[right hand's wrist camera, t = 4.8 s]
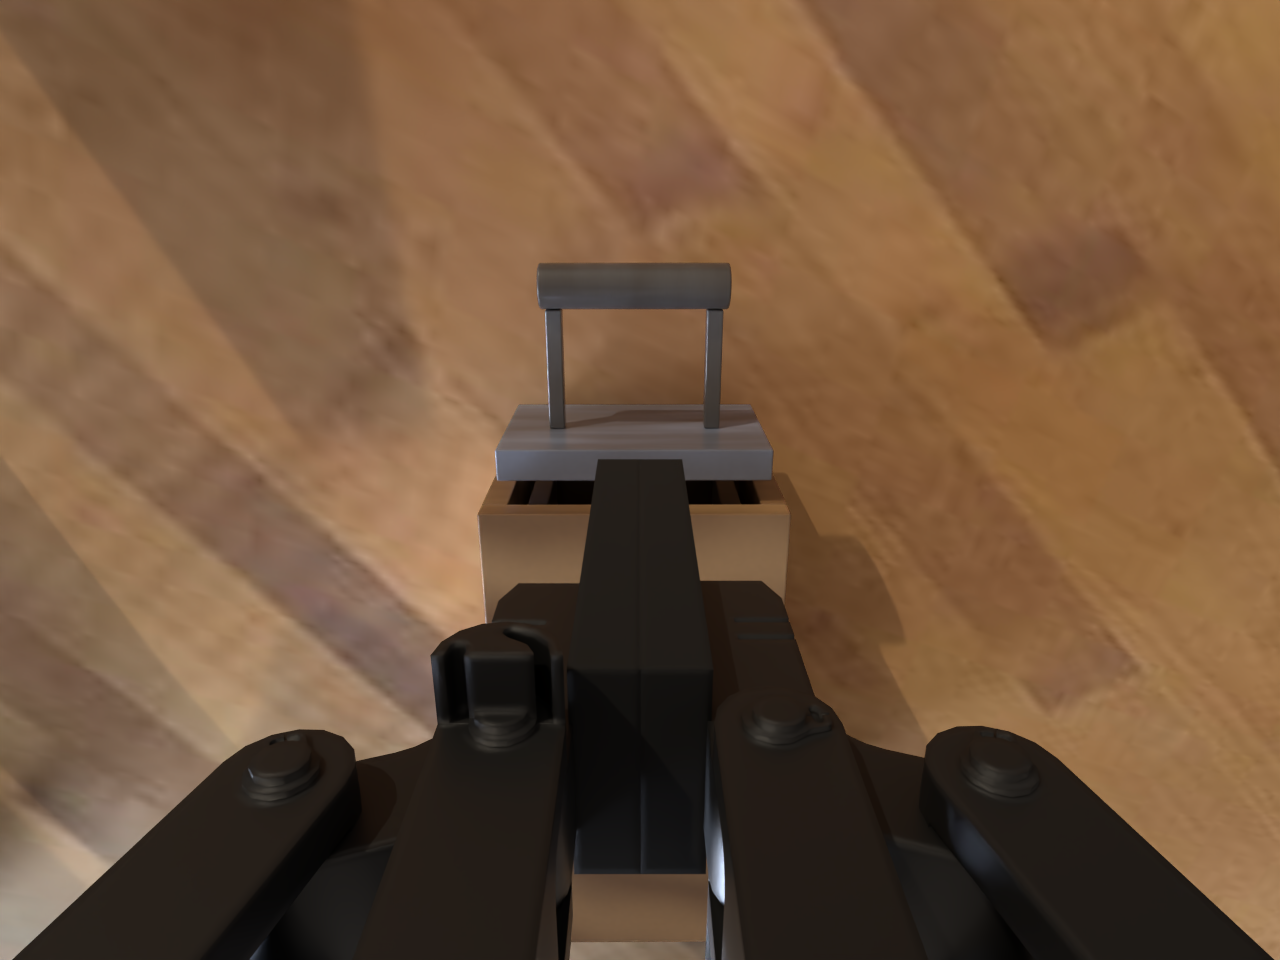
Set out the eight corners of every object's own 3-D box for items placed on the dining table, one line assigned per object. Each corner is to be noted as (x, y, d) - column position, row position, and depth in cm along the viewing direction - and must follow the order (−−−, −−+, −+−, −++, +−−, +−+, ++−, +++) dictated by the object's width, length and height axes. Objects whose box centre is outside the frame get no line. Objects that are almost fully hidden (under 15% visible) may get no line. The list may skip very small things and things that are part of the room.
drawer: (510, 254, 33) (482, 271, 27) (758, 254, 33) (784, 271, 27) (537, 770, 42) (521, 867, 36) (732, 770, 42) (748, 866, 36)
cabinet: (510, 443, 37) (477, 514, 29) (758, 443, 37) (791, 513, 29) (531, 808, 44) (509, 943, 36) (739, 808, 44) (761, 942, 36)
